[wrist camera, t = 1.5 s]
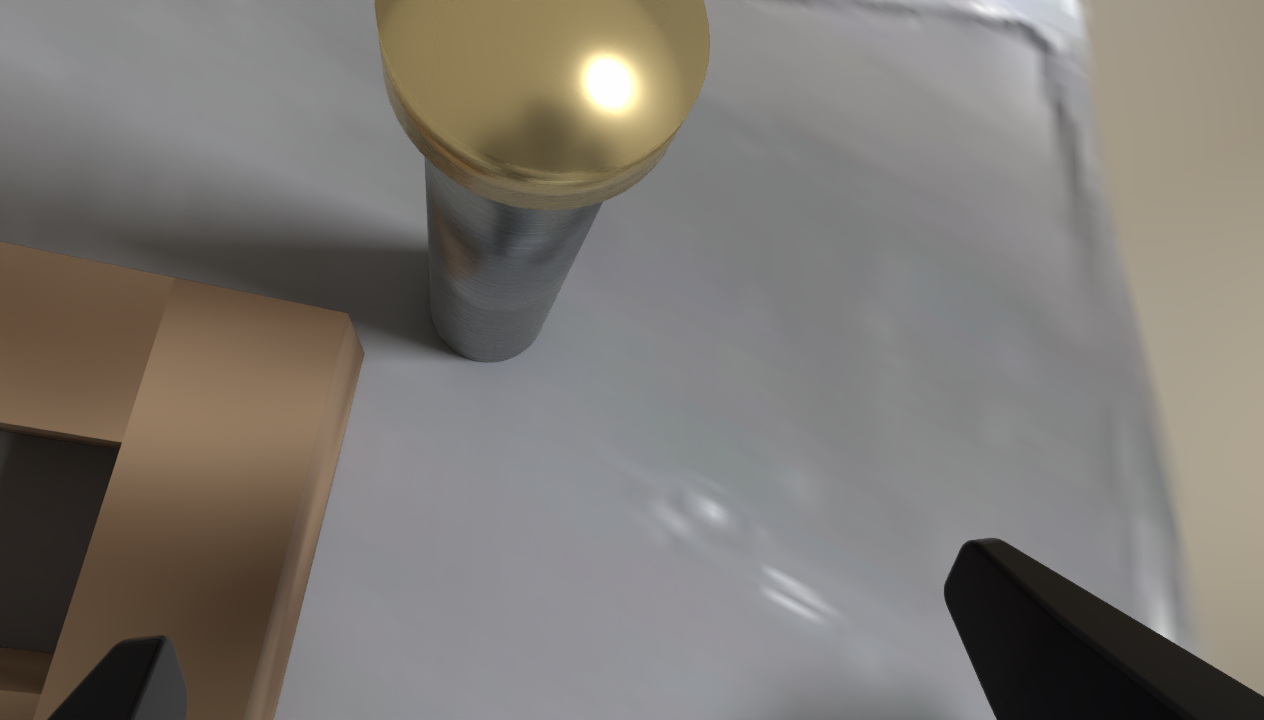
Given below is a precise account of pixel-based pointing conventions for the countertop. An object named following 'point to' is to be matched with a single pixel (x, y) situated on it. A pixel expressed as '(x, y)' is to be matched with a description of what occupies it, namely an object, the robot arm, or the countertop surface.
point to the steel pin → (530, 138)
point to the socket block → (178, 467)
